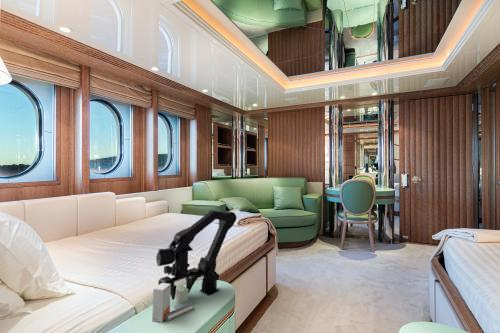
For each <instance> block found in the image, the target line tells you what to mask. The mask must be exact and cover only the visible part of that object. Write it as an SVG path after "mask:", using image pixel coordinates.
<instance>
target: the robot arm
mask: <svg viewBox="0 0 500 333" xmlns="http://www.w3.org/2000/svg"><path fill="white" fill-rule="evenodd" d="M216 220H217V221H218V228H217V231H216V233H215V235H214V237H213V240H212V242H211V244H210V247H209V249H208V251H207V254H206V255H205V256H204V257H202V256H201V257H200V259H199V262H198V264H197V268H196V267H193V268H189V267H190V266H191V265H190V263H189V252H191V251H193V250H194V249H193V248H192V247H191V245H190V244H191V243H192V242H193V241H194V239H195V237H196V236H197V235H198V234H199V233H200V232H202V231H203V230H204V229H205V228H207V227H208V226H209V225H211V224H212V223H213V222H214V221H216ZM236 221H237V215H236V213H235V212H233V211H228V210H224V211H217V210H215V209H211V210H209V211H208V212H207V213H206V214H205V215H203V216H202V217H201V218H200V219H199V220H197V221H195V223H193V224H192V225H191V226H189V227H187V228H185V229H181V230H180V231H178V232H176V233H175V234H174V236H173V240H172V241H171V243H169V245H168V248H167V247H166V248H159V249H158V252H157V254H156V256H155V259H156V261H155V262H156V266H158V267H163V273H164V274H165V275H166V274H167V275H168V276H164V277H161V278H159V279H158V285H160V284H161V283H167V284H171V293H170V298H171V300H172V301H175V300H174V299H175V294H176V286H177V285H175V283H176V282H179V281H181V280H184V279H185V284H186V285H185V287H186V288H188V295H189V294H190V292H191V290H192V287H193V286H194V284H195V282H196V281H197V280H198V278H200V277H201V278H202V277H203V278H202V281H201V289H200V290H199V292H201V293H203V294H204V295H207V296H210V295H213V294H215V293H217V292H219V291H220V290H219V289H218V286H217V285H218V283H217V282H218V281H219V279H220V274H219V273H217V271H216V268H217V258H218V255H219V253H220V251H221V249H222V246H223V243H224V241H225V239H226V236H227V233H228V231H229V230H230V229H231V228H232V227H233V226H234V225H235V223H236ZM170 265H172V266H170ZM169 275H171V276H172V277H170V276H169ZM158 285H157V286H158Z"/></svg>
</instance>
